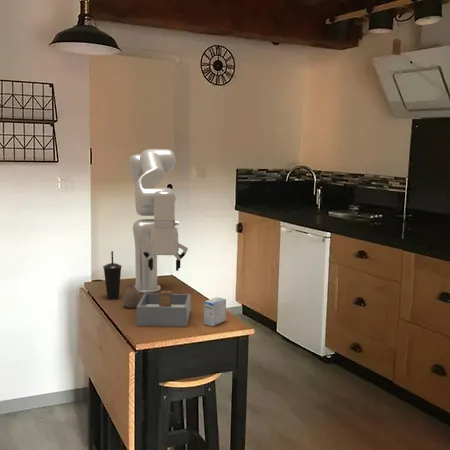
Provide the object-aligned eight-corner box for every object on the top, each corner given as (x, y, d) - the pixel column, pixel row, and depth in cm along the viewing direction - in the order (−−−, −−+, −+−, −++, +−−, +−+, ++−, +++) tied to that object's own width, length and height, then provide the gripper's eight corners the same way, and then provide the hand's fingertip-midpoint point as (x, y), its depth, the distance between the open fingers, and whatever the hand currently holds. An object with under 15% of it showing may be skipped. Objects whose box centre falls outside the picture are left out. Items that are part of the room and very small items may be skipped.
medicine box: (216, 318, 212) (216, 296, 211) (226, 321, 210) (226, 298, 208) (203, 324, 206) (203, 301, 205) (213, 326, 203) (213, 303, 202)
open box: (144, 310, 221) (144, 293, 220) (190, 311, 221) (190, 294, 220) (136, 325, 203) (136, 306, 202) (186, 326, 203) (186, 307, 202)
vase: (141, 304, 230) (141, 283, 228) (139, 309, 223) (139, 287, 221) (124, 304, 229) (123, 283, 228) (121, 309, 223) (121, 287, 221)
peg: (160, 316, 214) (160, 291, 213) (171, 316, 214) (171, 291, 213) (159, 319, 210) (159, 293, 209) (169, 320, 210) (169, 294, 209)
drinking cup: (106, 295, 242) (105, 249, 239) (123, 295, 242) (123, 249, 239) (101, 300, 234) (100, 253, 231) (120, 300, 234) (119, 253, 231)
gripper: (188, 223, 210) (188, 267, 213) (142, 222, 210) (142, 266, 213) (187, 226, 203) (186, 272, 206) (139, 225, 203) (139, 271, 206)
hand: (164, 269), depth 210 cm, fingers open, 9 cm apart
